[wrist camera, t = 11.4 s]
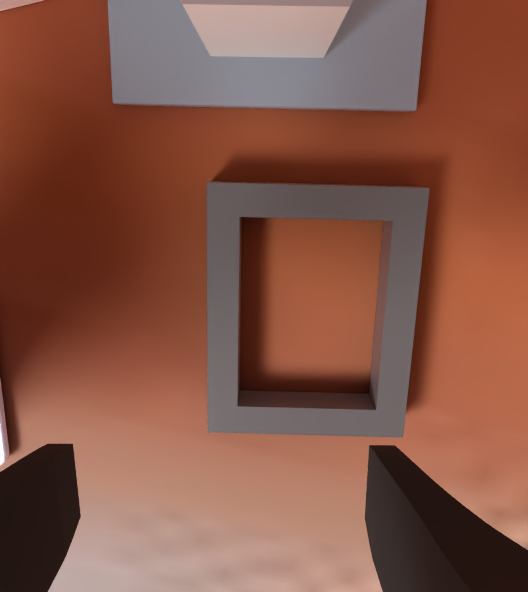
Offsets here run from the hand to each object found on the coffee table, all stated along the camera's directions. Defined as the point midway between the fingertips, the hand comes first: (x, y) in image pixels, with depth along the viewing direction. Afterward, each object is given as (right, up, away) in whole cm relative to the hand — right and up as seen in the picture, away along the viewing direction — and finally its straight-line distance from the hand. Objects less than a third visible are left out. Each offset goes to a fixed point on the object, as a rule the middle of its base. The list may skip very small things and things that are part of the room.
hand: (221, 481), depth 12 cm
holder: (+3, +4, +9) cm, 10 cm away
